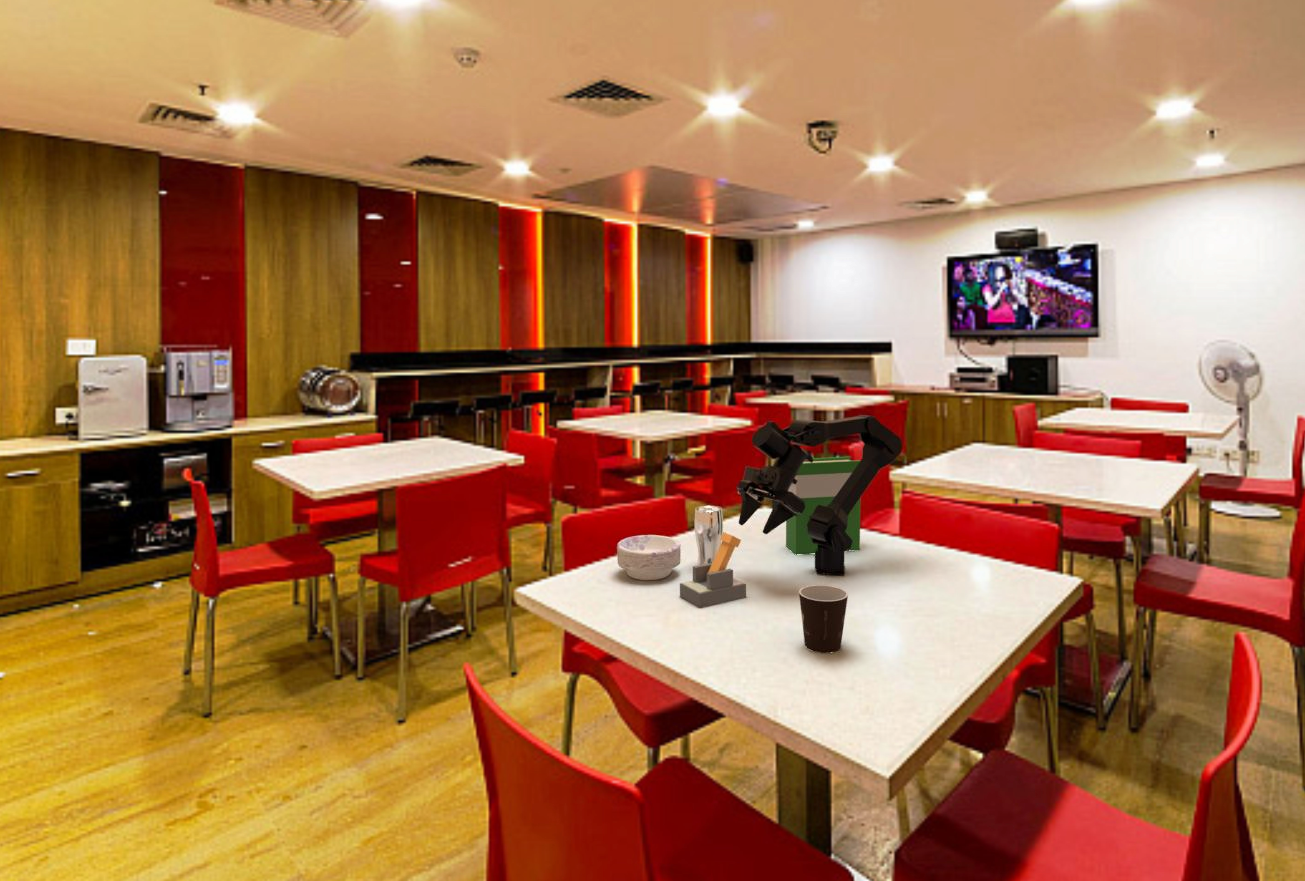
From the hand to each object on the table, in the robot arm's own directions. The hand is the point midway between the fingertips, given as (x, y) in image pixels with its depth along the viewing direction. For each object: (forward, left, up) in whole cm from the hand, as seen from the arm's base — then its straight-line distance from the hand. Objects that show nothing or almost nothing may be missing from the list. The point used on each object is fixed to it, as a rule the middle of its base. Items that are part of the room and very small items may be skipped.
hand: (752, 528), depth 162 cm
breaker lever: (+7, +8, -10) cm, 15 cm away
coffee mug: (-17, +30, -14) cm, 37 cm away
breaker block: (+7, +8, -14) cm, 17 cm away
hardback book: (-14, -35, -14) cm, 40 cm away
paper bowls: (+25, -4, -14) cm, 29 cm away
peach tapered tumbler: (+12, -12, -14) cm, 22 cm away
